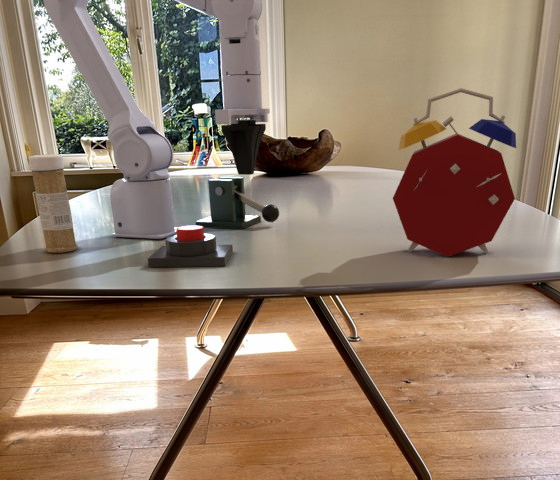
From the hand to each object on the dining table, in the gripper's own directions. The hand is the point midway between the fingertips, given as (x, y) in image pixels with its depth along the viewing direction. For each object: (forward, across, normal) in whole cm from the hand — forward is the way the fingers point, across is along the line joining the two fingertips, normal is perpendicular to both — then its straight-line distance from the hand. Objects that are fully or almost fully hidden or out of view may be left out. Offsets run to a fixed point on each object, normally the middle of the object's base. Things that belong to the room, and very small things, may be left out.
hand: (246, 174), depth 92 cm
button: (+7, -18, 0) cm, 19 cm away
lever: (+7, +9, +4) cm, 12 cm away
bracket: (+9, +9, +8) cm, 15 cm away
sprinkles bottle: (+10, -17, +23) cm, 30 cm away
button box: (+9, -18, 0) cm, 20 cm away
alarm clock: (+10, -6, -32) cm, 34 cm away
